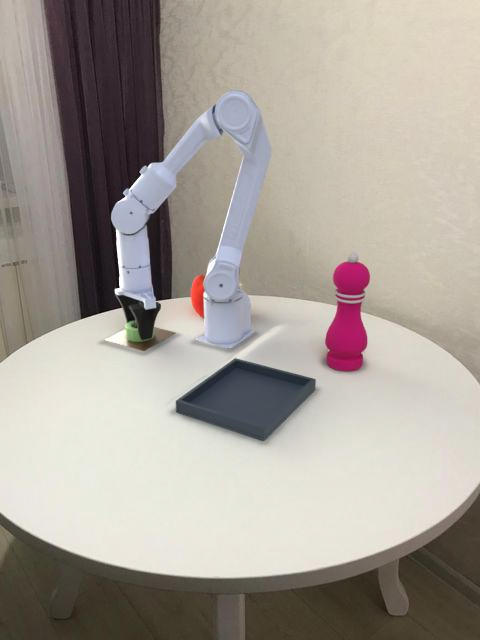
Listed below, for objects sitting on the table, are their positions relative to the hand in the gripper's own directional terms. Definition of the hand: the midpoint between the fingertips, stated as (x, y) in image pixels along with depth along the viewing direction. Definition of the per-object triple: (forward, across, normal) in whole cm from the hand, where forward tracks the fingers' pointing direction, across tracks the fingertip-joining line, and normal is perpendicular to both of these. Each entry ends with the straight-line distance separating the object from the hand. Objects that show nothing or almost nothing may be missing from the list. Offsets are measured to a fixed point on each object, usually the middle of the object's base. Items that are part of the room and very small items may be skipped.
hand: (140, 332), depth 114 cm
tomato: (+2, -4, +19) cm, 19 cm away
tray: (+1, +31, +6) cm, 32 cm away
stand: (+1, 0, 0) cm, 1 cm away
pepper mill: (+2, +28, +28) cm, 39 cm away
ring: (+1, 0, 0) cm, 1 cm away
